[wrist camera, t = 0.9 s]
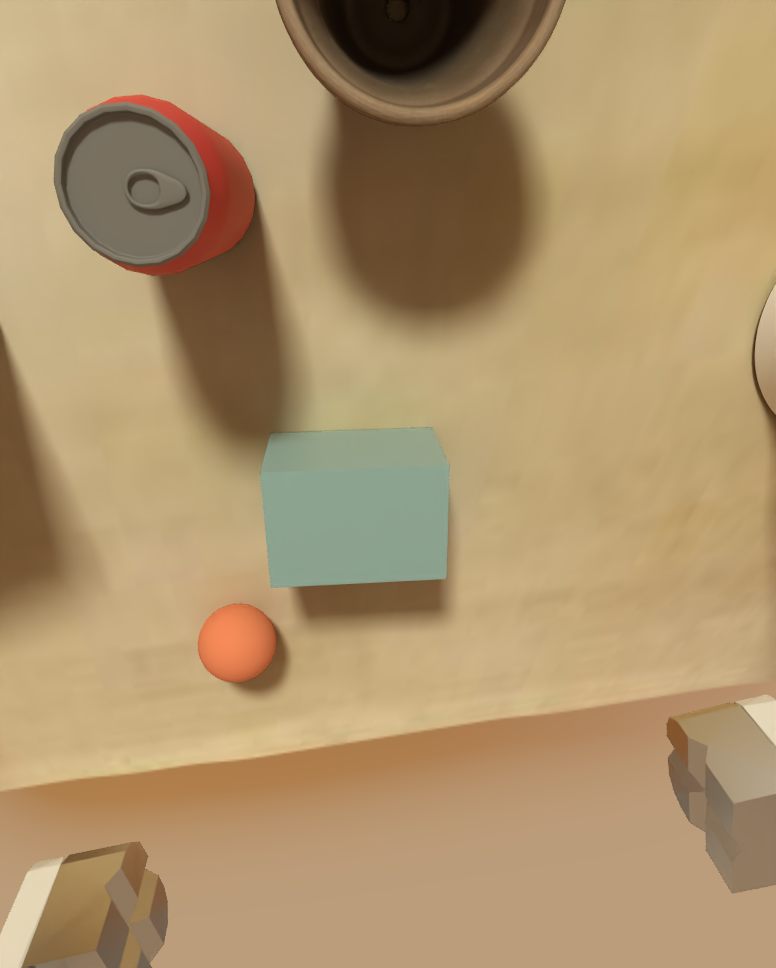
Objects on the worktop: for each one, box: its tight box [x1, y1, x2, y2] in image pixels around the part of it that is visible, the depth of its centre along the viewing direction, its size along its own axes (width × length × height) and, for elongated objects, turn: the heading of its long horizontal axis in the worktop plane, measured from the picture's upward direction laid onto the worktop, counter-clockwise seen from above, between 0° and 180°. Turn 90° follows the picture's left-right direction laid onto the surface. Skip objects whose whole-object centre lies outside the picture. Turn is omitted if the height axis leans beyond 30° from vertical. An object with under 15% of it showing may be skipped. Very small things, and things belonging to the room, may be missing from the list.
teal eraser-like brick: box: [260, 427, 450, 588], centre depth 39 cm, size 10×7×7 cm
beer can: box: [54, 95, 255, 276], centre depth 30 cm, size 7×7×12 cm
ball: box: [198, 604, 276, 682], centre depth 43 cm, size 5×5×5 cm
